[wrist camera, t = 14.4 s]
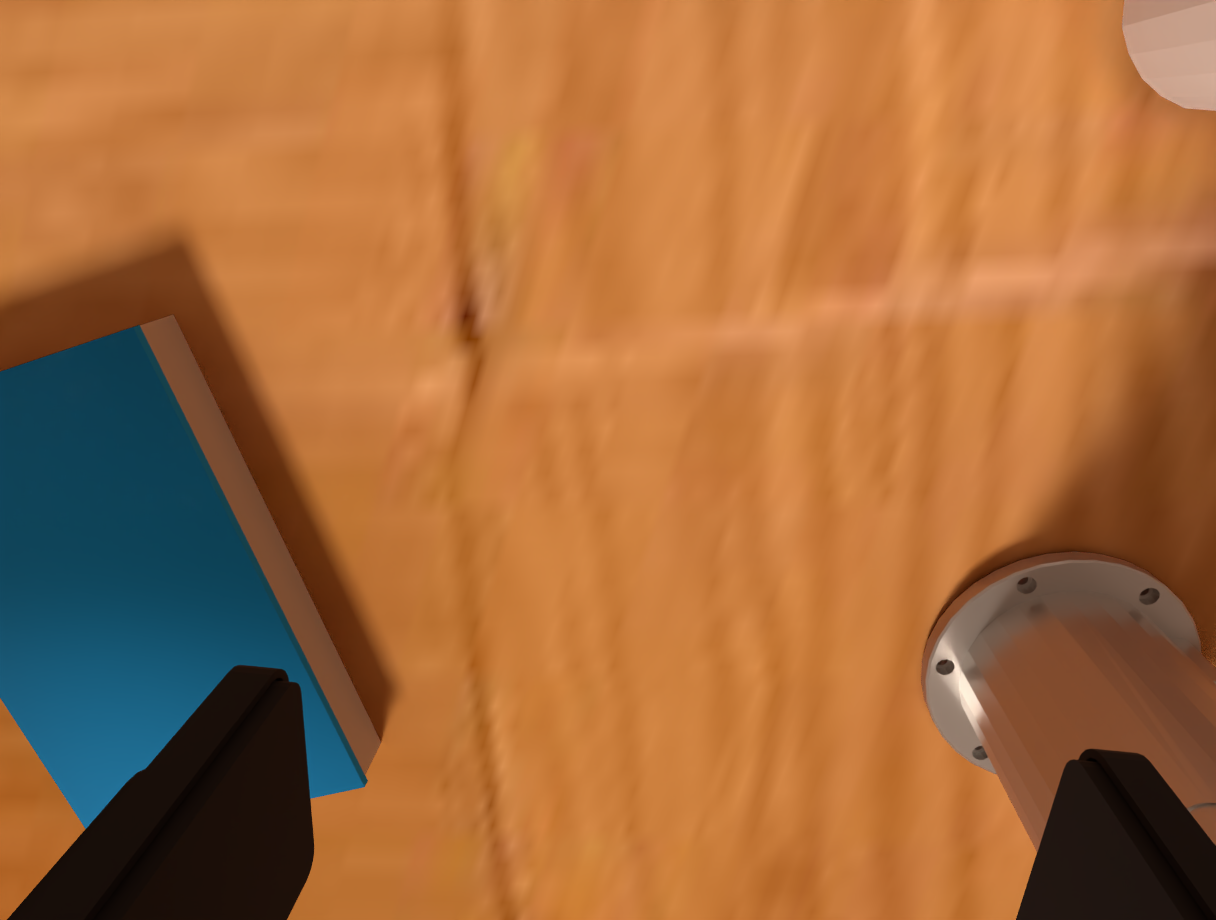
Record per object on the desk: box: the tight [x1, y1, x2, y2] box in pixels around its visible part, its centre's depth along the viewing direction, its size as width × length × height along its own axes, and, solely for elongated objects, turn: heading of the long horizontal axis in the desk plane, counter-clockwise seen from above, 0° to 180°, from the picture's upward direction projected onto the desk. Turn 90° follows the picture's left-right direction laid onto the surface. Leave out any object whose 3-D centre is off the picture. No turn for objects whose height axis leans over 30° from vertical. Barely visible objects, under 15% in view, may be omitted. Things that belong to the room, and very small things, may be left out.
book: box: [0, 315, 381, 829], centre depth 42 cm, size 17×4×25 cm
